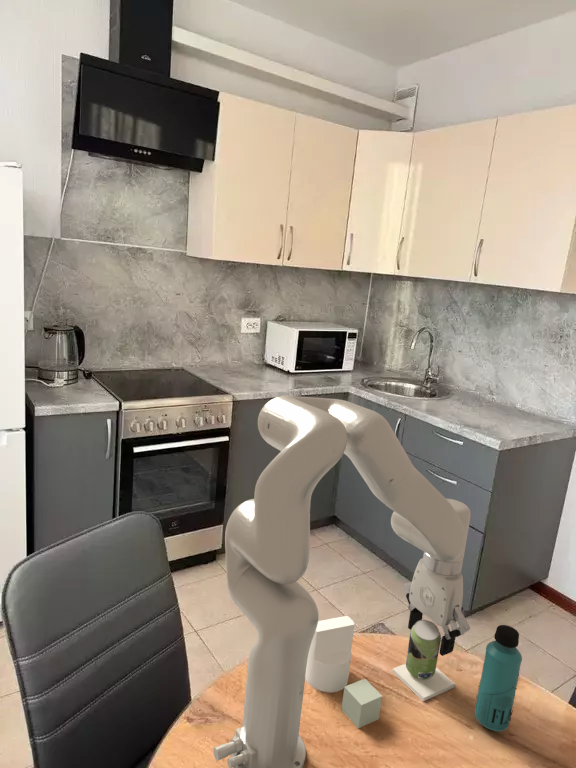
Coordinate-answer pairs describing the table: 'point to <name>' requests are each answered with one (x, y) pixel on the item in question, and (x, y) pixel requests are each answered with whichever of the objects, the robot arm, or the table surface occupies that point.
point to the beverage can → (423, 649)
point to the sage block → (361, 703)
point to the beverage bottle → (499, 680)
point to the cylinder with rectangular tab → (330, 654)
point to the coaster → (424, 683)
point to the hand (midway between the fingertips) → (429, 639)
